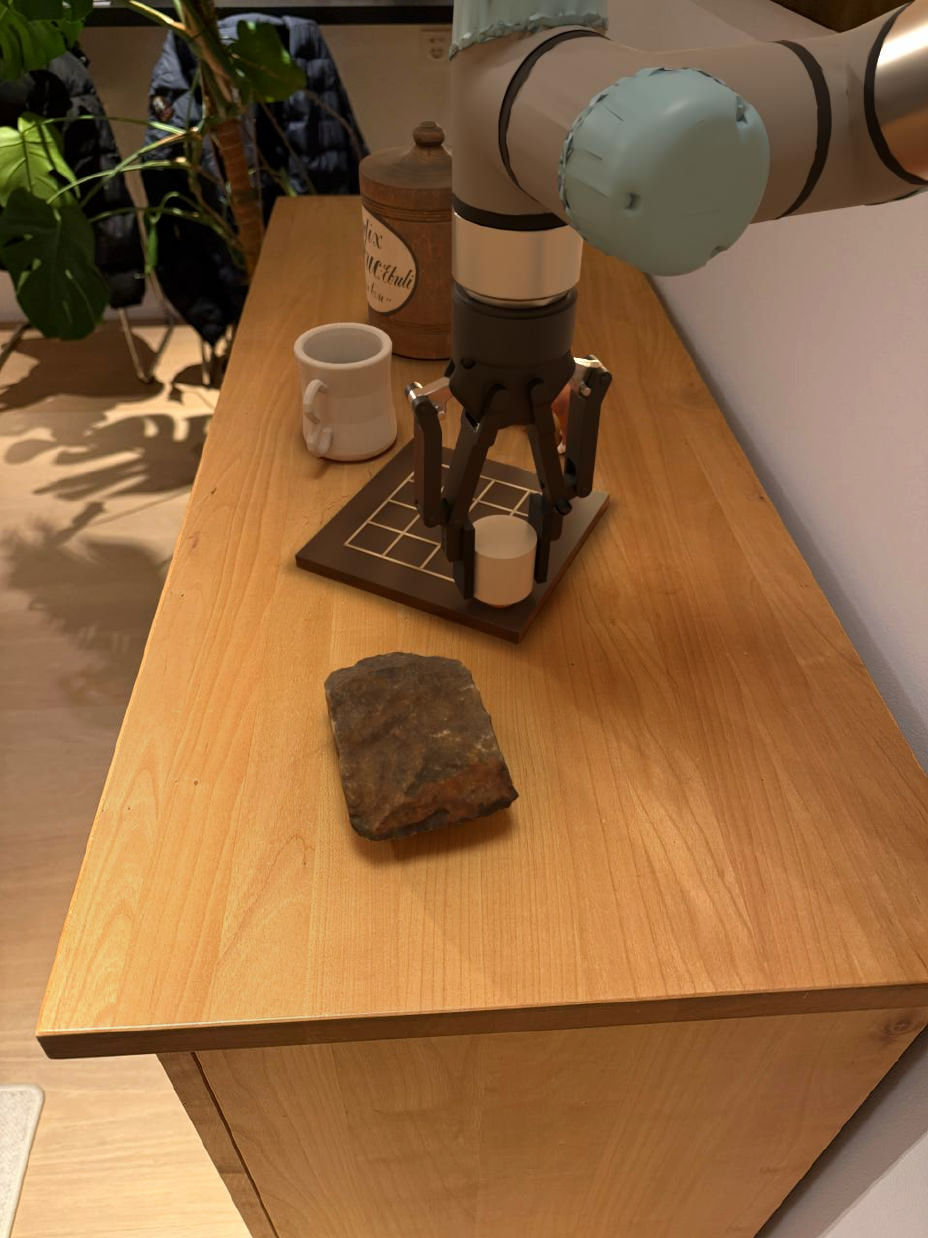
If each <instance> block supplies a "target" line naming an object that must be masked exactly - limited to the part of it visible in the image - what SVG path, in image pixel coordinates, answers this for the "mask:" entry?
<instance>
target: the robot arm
mask: <svg viewBox="0 0 928 1238" xmlns="http://www.w3.org/2000/svg"><path fill="white" fill-rule="evenodd" d="M452 16H453V17H452V19H453V20H452V32H451V45H450V46H449V49H448V60H449V61H450V64H451V65H450V67H451V70H450V71H451V73H450V74H451V78H450V79H451V146H452V275H453V277H454V279H455V280H456V282H455V283H454V284H453V286H452V289H451V345H452V354H451V358H449V361H448V363H447V365H446V366H445V369H444V371H443V376H442V377H440V378H438V379H436V380H434V381H431V382H430V383H428V384H426V385H424V386H422V384H421V383H419V382H416V381H413V382H410V383H409V384H407V385H406V387H405V388H404V391H403V392H404V396H405V398H406V401H407V403H408V407H409V408H410V410H411V413H412V415H413V438H414V505H415V507H416V509H417V511H418V513H419V515H420V517H421V519H422V521H423V523H424V525H425V526H426V527H428V528H433V527H436V526H437V525H441V548H442V550H443V552H444V554H445V556H446V558H447V559H448V561H449V563H450V562H453V579H454V581H455V583H456V585H457V587H458V589H459V591H460V593H461V595H462V597H463V599H464V600H467V599H472V598H474V561H475V528H474V526H473V524H472V522H471V520H470V519H469V517H468V513H469V510H470V506H471V503H472V500H473V497H474V494H475V491H476V488H477V484H478V481H479V478H480V475H481V472H482V469H483V465H484V462H485V459H487V455H488V452H489V449H490V448H491V447H494V446H495V443H496V439H497V436H498V433H499V431H500V430H501V431H502V430H504V429H507V428H509V427H511V426H525V429H526V433H527V437H528V442H529V445H530V451H531V454H532V459H533V464H534V468H535V473H537V476H538V481H539V485H540V488H541V490H542V496H541V494H540V493H534V494H530V497H529V511H528V523H529V524H530V525H531V526H532V527H533V528H534V530H535V531H536V534H537V548H536V559H535V571H534V579H535V581H536V582H537V584H541V583H546V582H547V574H548V564H549V553H550V543H551V541H556V540H559V538H560V536H561V534H562V525H563V524H562V523H563V516H566V515H568V514H569V513H570V512H571V510H572V505H571V503H570V502H569V501H570V500H571V499H573V498H575V497H577V496H578V497H579V498H585V497H587V496H589V495H590V493H591V492H592V489H593V486H594V475H595V466H596V458H597V449H598V438H599V431H600V429H599V428H600V421H601V420H600V419H601V411H602V410H601V409H602V403H603V401H604V399H605V397H606V395H607V393H608V391H609V388H610V385H611V384H612V381H613V375H612V373H611V372H610V371H609V370H608V369H607V368H606V366H604V365H603V363H602V362H601V361H600V360H599V359H598V358H597V357H596V356H595V355H594V354H588V355H585V356H584V357H583V358H577V357H574V355H573V352H572V348H571V347H572V345H573V344H574V343H573V342H574V337H575V327H576V317H577V309H578V307H577V306H578V299H579V297H578V296H579V292H578V289H577V288H576V286H575V285H576V284H577V283H578V282H579V281H580V277H581V267H582V256H583V246H584V241H585V242H586V243H588V244H589V246H591V248H593V249H597V250H599V251H600V252H601V253H602V254H603V255H605V256H613V257H615V258H616V259H617V260H619V261H620V262H623V263H625V264H627V265H629V266H631V267H632V268H634V269H636V270H638V271H640V272H642V273H645V274H648V275H652V276H656V277H678V276H684V275H685V276H686V275H688V274H691V273H695V272H696V271H699V270H700V269H702V268H704V267H706V265H707V263H708V262H709V261H711V260H712V259H713V258H714V257H716V256H717V255H719V254H720V253H722V252H725V251H728V250H729V249H731V247H732V246H734V245H735V243H736V242H737V241H739V240H740V238H741V237H742V236H743V234H744V232H746V230H747V228H748V227H749V226H750V225H754V224H759V223H764V222H770V221H778V220H781V219H782V218H788V217H794V216H801V215H807V214H814V213H821V212H826V211H833V210H840V209H847V208H854V207H860V206H864V207H865V206H867V207H871V206H880V205H884V204H889V203H893V202H900V201H904V200H908V199H910V198H913V197H915V196H918V195H921V194H923V193H927V192H928V0H912V1H910V2H908V3H905V4H903V5H901V6H898V7H896V8H894V9H892V10H890V11H888V12H885V13H884V14H882V15H880V16H878V17H876V18H874V19H872V20H870V21H868V22H866V23H864V24H861V25H859V26H857V27H855V28H852V29H849V30H846V31H843V32H838V33H835V34H834V33H833V34H830V35H821V36H813V37H812V36H811V37H803V38H794V39H782V40H781V39H780V40H773V41H765V42H754V43H745V44H744V43H743V44H734V45H732V44H731V45H722V46H711V47H701V48H690V49H680V50H671V51H645V50H641V49H636V48H635V47H634V48H633V47H630V46H628V45H625V44H622V43H619V42H616V41H614V40H612V39H610V38H609V37H608V36H606V33H607V32H609V25H610V22H609V17H608V0H453V13H452ZM568 382H569V385H570V387H571V390H570V396H569V409H568V422H567V435H566V447H565V452H564V459H563V460H564V462H563V467H562V463H561V458H560V454H559V453H558V444H557V438H556V434H555V432H556V431H557V428H556V424H555V423H556V422H555V418H554V413H552V408H551V405H552V403H553V402H554V401H555V399H556V398H557V397H558V395H559V394H560V393H561V391H562V390H563V389H564V387H565V386H566V385H567V383H568ZM453 397H454V398H455V400H456V401H457V402H458V403H459V404H460V405H461V407H462V410H461V412H460V417H459V418H460V419H459V422H460V423H459V424H460V429H459V433H458V436H457V440H456V443H455V446H454V453H453V456H452V460H451V463H450V466H449V470H448V473H447V477H446V480H445V484H444V487H443V490H442V494H441V479H442V446H443V430H442V424H441V422H440V421H443V420H445V418H446V414H447V404H448V401H449V400H450V399H451V398H453Z"/></svg>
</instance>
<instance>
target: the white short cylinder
mask: <svg viewBox="0 0 928 1238" xmlns="http://www.w3.org/2000/svg"><path fill="white" fill-rule="evenodd" d="M473 526H474V528H475V561H474V597H475V598H477V599H478V600H480V601H483V602H485V603H489V604H494V605H508V604H513V603H516V602H519V601H521V600H523V599H524V598H526V597H527V596H528V595H529V594H530V592H531V590H532V588H533V582H534V571H535V559H536V548H537V534H536V531H535V530H534V528H533V527H532V526H531V525H530V524H529V523H527V522H526V521H524V520H522V519H520V518H517V517H514V516H509V515H492V516H487V517H484V518H481V519H479V520H477V521H475V522H474V523H473Z"/></svg>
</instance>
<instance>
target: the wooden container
mask: <svg viewBox="0 0 928 1238" xmlns="http://www.w3.org/2000/svg"><path fill="white" fill-rule="evenodd" d="M446 132H447V131H446V130H445V129H444V127H443V126H441V125H440V124H438V123H437V122H436V121H434V120H424V121H421V122H420V123H419V124H418V125H417V126H415V127H414V128H413V130H412V138H413V141H414V144H411V145H401V146H395V147H389V148H384V149H381V150H378V151H376V152H373V153H370V154H368V155H367V156H365V157H364V158H363V159H362V160H361V161H360V162H359V165H358V179H359V180H358V181H359V193H360V200H361V209H362V210H361V212H362V213H361V214H362V215H361V216H362V231H363V251H364V252H363V253H364V257H363V258H364V271H365V272H364V274H365V275H364V276H365V288H366V300H367V311H368V325H369V326H373V327H376V328H378V329H380V330H382V331H383V332H385V333H386V334H387V335H388V336H389V337H390V339H391V341H392V354H396V355H399V356H404V357H407V358H414V359H420V360H421V359H422V360H443V359H450V358H451V354H452V345H451V289H452V286H453V284H454V283H455V282H456V280H455V279H454V277H453V275H452V145H448V144H447V145H446V144H444V143H445V140H446V137H447V133H446Z"/></svg>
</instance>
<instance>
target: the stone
mask: <svg viewBox="0 0 928 1238" xmlns="http://www.w3.org/2000/svg"><path fill="white" fill-rule="evenodd" d="M323 687H324V691H325V692H324V695H325V702H326V709H327V713H328V717H329V721H330V727H331V732H332V738H333V745H334V749H335V754H336V757H337V759H338V760H339V762H338V770H339V775H340V776H339V777H340V782H341V788H342V792H343V795H344V798H345V805H346V808H347V812H348V817H349V824H350V826H351V829H352V830H353V831H354V832H355V833H356V834H357V836H358V837H361V838H363V839H366V840H367V841H369V842H375V843H379V842H384V841H386V840H399V841H400V840H404V839H405V838H408V837H411V836H413V835H418V834H421V833H425V832H429V831H434V830H439V829H444V828H447V827H449V826H456V825H461V824H463V823H467V822H471V821H474V820H479V819H482V818H488V817H490V816H493V815H494V814H496V813H497V812H499V811H501V810H505V809H510V807H511V806H512V804H513V803H514V802H515V801H516V800H518V798H519V797H520V794H519V792H518V790H517V789H516V788H515V786H514V782H513V778H512V776H511V774H510V769H509V767H508V764H507V763H506V759H505V757H504V755H503V753H502V751H501V749H500V745H499V741H498V739H497V736H496V733H495V729H494V728H493V722H492V716H491V715H490V713H488V712H487V710H486V708H485V706H484V704H483V699H482V695H481V692H480V690H479V689H478V688H477V686H476V683H475V681H474V680H473V676H472V672H471V670H470V669H468V668H467V667H466V666H465V665H464V663H463V662H462V661H461V660H459V659H457V658H449V657H445V656H441V655H420V654H417V653H413V652H403V651H394V652H388V653H383V654H376V655H375V654H374V655H372V656H367V657H364V658H362V659H359V660H357V661H356V663H355V664H354V665H352V666H348V667H341V668H337V669H336V670H333V671H331V672H330V673H329V675H328V676H327V677H326V678H325V681H324V682H323Z"/></svg>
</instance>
